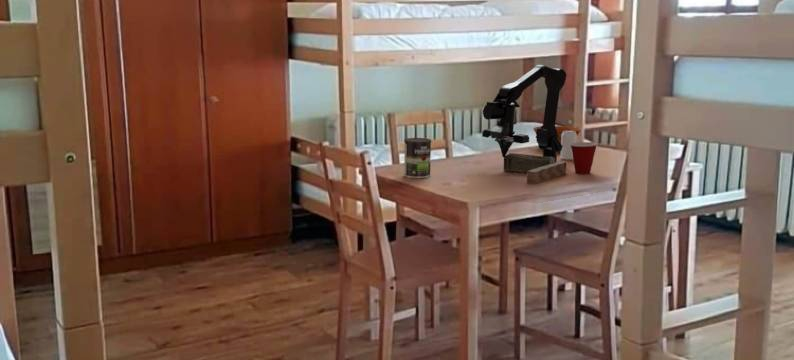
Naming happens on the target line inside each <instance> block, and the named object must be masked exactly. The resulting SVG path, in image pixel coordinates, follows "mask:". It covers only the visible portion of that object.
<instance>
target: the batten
mask: <svg viewBox="0 0 794 360" xmlns="http://www.w3.org/2000/svg"><path fill="white" fill-rule="evenodd" d="M564 174H567V161H564V160H563V161H562V160H559V161H558V160H557V162H555V163H552V164H549V165H545V166H542V167H539V168H536V169H533V170H529V171H527V173H526V184H530V185H535V184H538V183H542V182H545V181H547V180H549V179H553V178H556V177H558V176H562V175H564Z"/></svg>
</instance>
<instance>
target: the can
mask: <svg viewBox="0 0 794 360" xmlns="http://www.w3.org/2000/svg"><path fill="white" fill-rule="evenodd" d="M577 140H578V135H577V134H576V131H572V130H565V131H563V133H562V137H561V145H562V146H563V147H562V150H561V151H560V159H561V160H563V159H564V160H563V161H574V160H573V152H572V149H571V146H570V144H571V143H578V141H577Z"/></svg>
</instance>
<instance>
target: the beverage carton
mask: <svg viewBox="0 0 794 360" xmlns="http://www.w3.org/2000/svg"><path fill="white" fill-rule="evenodd" d="M552 163H555V158H553V157H546V156H543V155H535V154H534V155H533V154H523V153H515V152H513V153H512V152H509V153H507V154H506V155H505V156H504V157H503V171H505V172H516V173H524V174H527V171H529V170H533V169H536V168H539V167H542V166H545V165H549V164H552Z"/></svg>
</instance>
